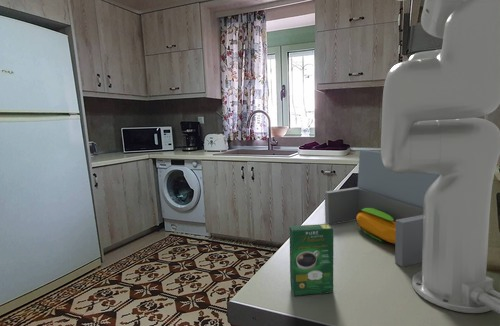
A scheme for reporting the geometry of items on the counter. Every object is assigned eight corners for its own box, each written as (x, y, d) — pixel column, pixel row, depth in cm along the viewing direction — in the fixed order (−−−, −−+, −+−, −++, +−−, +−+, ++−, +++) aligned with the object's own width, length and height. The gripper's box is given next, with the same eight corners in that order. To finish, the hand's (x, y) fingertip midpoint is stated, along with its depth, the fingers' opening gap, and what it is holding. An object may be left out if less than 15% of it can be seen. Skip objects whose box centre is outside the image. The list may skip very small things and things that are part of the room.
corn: (371, 200, 87) (425, 221, 68) (372, 224, 89) (426, 252, 69) (348, 205, 86) (398, 228, 67) (350, 229, 87) (399, 259, 68)
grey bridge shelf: (444, 256, 67) (446, 214, 65) (402, 267, 63) (402, 222, 62) (357, 216, 96) (357, 187, 95) (325, 222, 93) (324, 191, 91)
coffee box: (330, 285, 58) (328, 221, 57) (335, 293, 56) (334, 227, 54) (290, 288, 58) (287, 225, 56) (293, 297, 55) (290, 230, 53)
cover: (446, 214, 65) (449, 214, 66) (451, 160, 64) (455, 160, 64) (357, 187, 95) (360, 186, 95) (359, 150, 93) (362, 149, 94)
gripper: (435, 105, 83) (433, 169, 86) (391, 107, 79) (391, 174, 82) (460, 103, 76) (457, 173, 79) (414, 106, 72) (413, 179, 75)
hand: (424, 173), depth 80 cm, fingers closed
